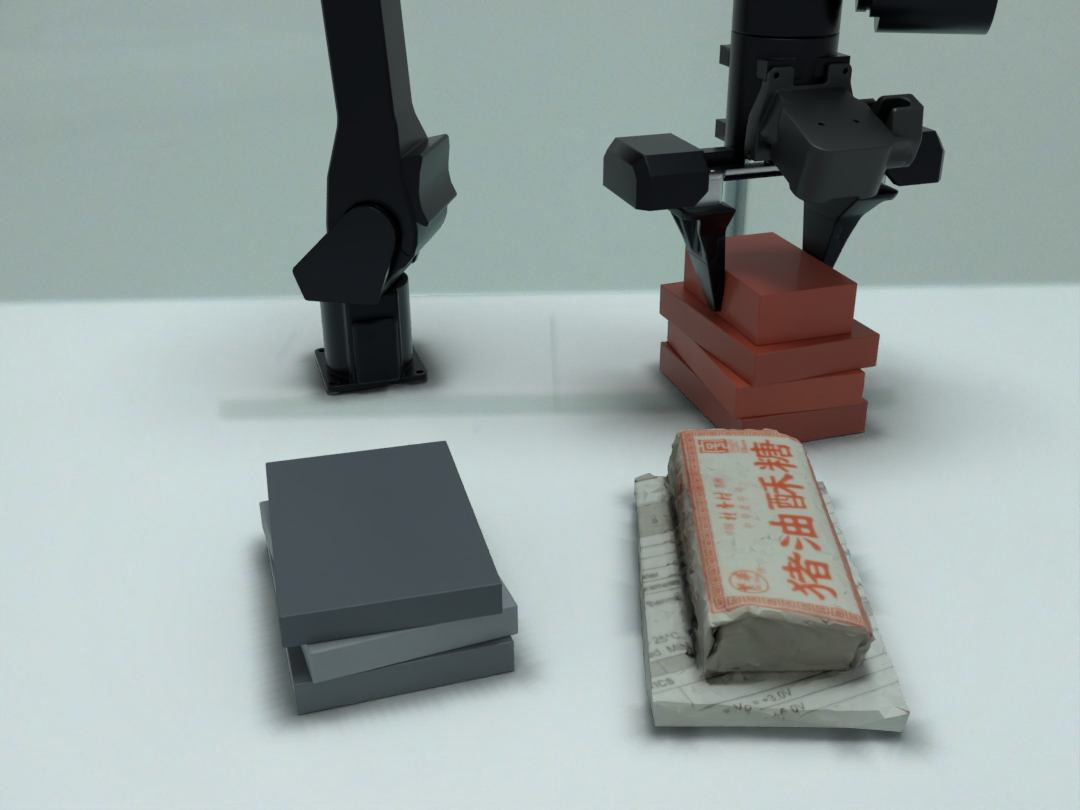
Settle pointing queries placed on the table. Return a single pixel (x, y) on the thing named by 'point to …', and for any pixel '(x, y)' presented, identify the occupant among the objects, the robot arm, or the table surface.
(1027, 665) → the table surface
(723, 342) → the rust book pile
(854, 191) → the robot arm
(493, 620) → the grey book pile
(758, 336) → the rust red block
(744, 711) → the packaged product
